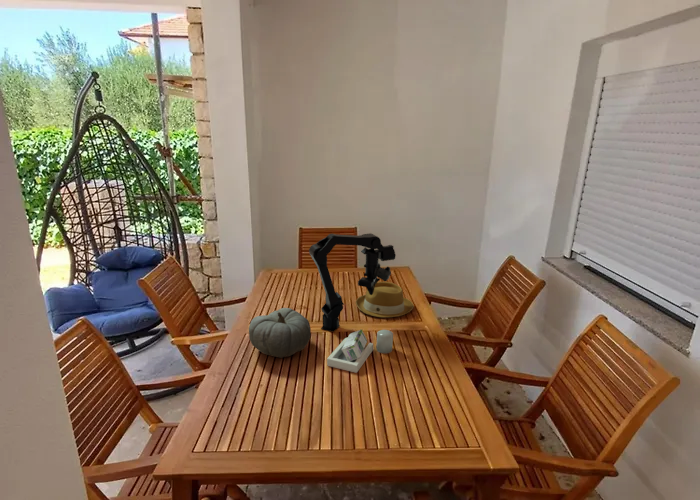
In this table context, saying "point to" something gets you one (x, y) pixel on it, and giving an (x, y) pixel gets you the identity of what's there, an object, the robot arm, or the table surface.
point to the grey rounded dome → (384, 341)
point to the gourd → (280, 332)
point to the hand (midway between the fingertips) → (371, 294)
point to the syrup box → (354, 345)
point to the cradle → (340, 361)
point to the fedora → (385, 301)
